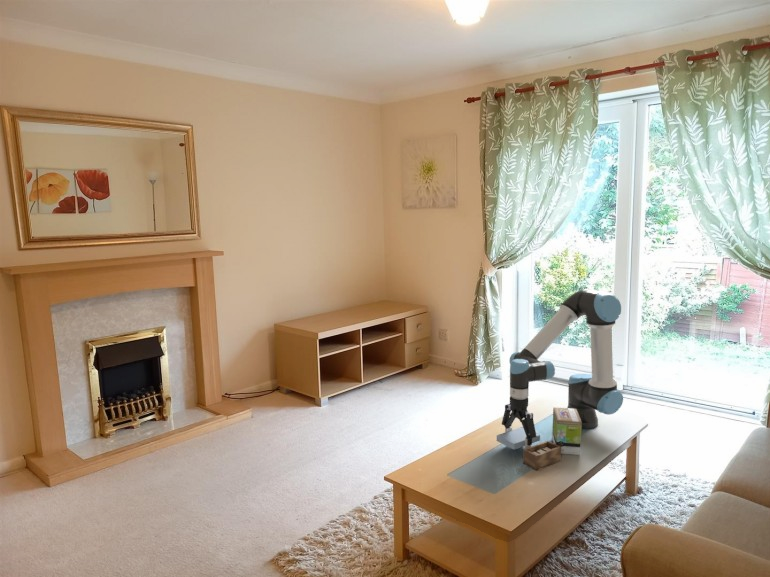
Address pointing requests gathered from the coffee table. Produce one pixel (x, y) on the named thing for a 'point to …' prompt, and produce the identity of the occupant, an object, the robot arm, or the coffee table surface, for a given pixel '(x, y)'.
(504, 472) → the coffee table surface
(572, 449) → the tea box
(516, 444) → the lid
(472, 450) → the coffee table surface
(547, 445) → the caddy
